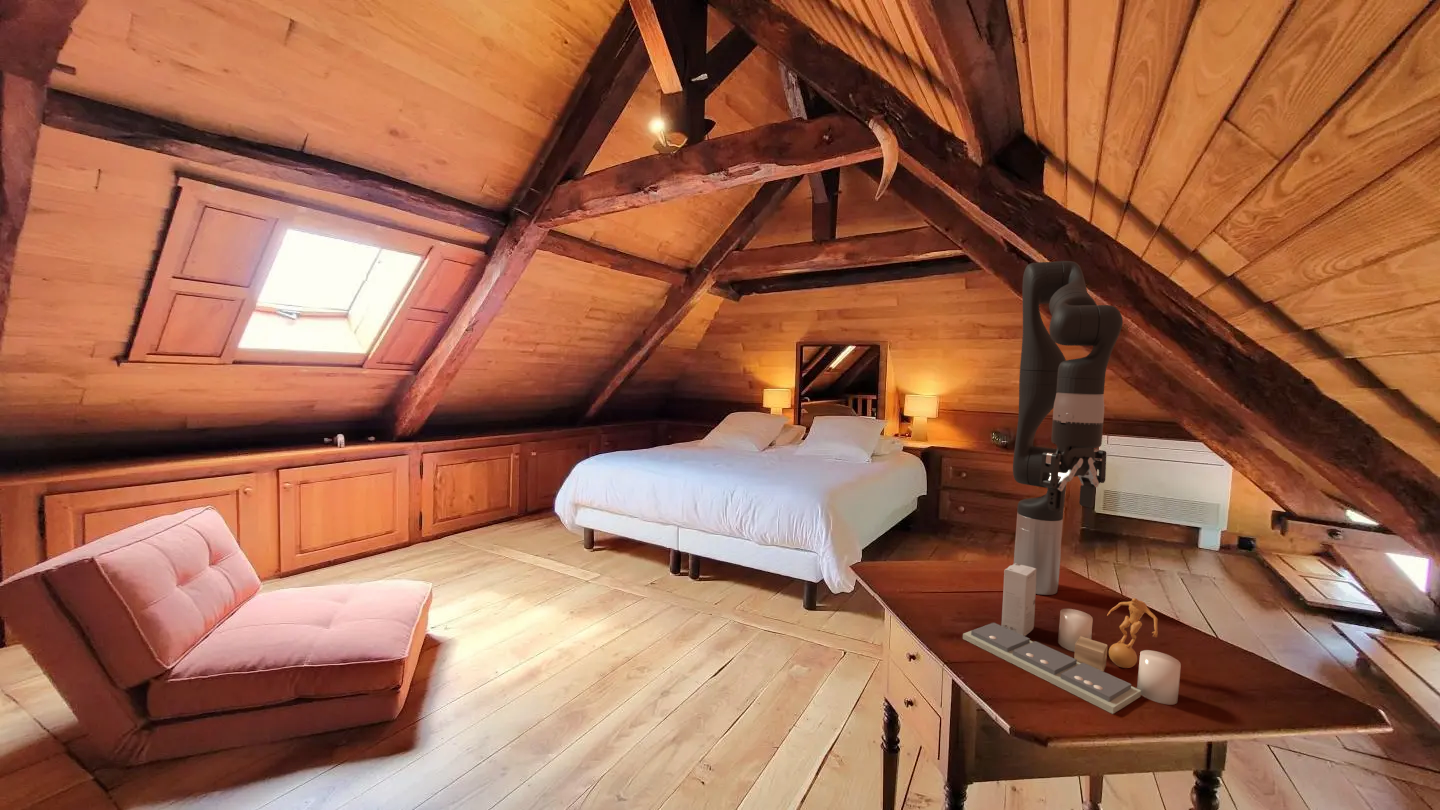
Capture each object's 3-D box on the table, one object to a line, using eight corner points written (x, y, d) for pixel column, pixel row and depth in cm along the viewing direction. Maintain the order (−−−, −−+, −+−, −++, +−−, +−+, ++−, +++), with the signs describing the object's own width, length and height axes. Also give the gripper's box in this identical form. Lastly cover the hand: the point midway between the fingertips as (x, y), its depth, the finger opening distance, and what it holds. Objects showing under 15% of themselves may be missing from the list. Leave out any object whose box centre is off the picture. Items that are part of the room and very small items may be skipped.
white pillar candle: (1145, 682, 89) (1148, 647, 89) (1183, 698, 85) (1186, 662, 84) (1131, 690, 87) (1134, 654, 86) (1169, 708, 82) (1172, 670, 82)
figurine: (1090, 655, 97) (1095, 590, 96) (1115, 651, 99) (1120, 587, 98) (1138, 681, 89) (1144, 611, 88) (1164, 676, 91) (1170, 607, 90)
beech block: (1078, 657, 97) (1080, 636, 96) (1105, 667, 94) (1107, 644, 93) (1073, 666, 94) (1075, 644, 93) (1101, 676, 91) (1103, 653, 91)
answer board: (991, 628, 107) (992, 619, 106) (1140, 696, 85) (1141, 685, 85) (962, 638, 102) (963, 629, 102) (1112, 714, 81) (1113, 702, 80)
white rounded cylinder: (1066, 636, 104) (1069, 606, 103) (1095, 648, 100) (1098, 617, 99) (1052, 643, 101) (1055, 612, 101) (1081, 655, 97) (1084, 623, 97)
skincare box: (1024, 638, 103) (1028, 576, 102) (999, 629, 106) (1003, 569, 105) (1034, 627, 107) (1039, 568, 106) (1010, 619, 110) (1014, 562, 110)
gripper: (1082, 416, 102) (1076, 500, 103) (1030, 417, 97) (1024, 506, 98) (1125, 420, 95) (1118, 510, 97) (1071, 422, 90) (1064, 517, 91)
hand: (1070, 508), depth 97 cm, fingers open, 8 cm apart
